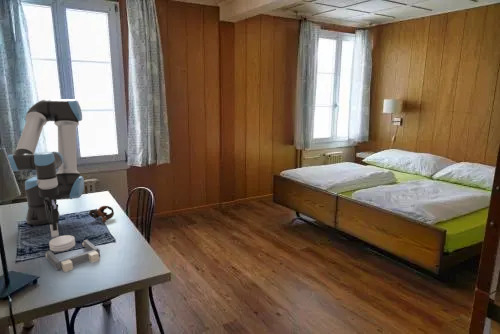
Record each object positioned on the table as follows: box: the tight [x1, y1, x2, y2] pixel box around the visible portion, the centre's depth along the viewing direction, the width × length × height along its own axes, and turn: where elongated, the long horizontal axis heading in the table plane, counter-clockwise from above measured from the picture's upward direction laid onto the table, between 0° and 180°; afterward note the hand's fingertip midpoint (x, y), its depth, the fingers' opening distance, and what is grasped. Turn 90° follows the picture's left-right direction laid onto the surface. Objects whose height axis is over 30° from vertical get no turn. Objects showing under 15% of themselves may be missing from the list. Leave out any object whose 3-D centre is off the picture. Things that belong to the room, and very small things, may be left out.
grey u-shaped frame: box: [45, 239, 101, 273], centre depth 138 cm, size 18×16×3 cm
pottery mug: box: [88, 205, 115, 223], centre depth 178 cm, size 12×10×8 cm
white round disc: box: [48, 234, 76, 253], centre depth 148 cm, size 10×10×4 cm
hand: (55, 236), depth 155 cm, fingers closed
